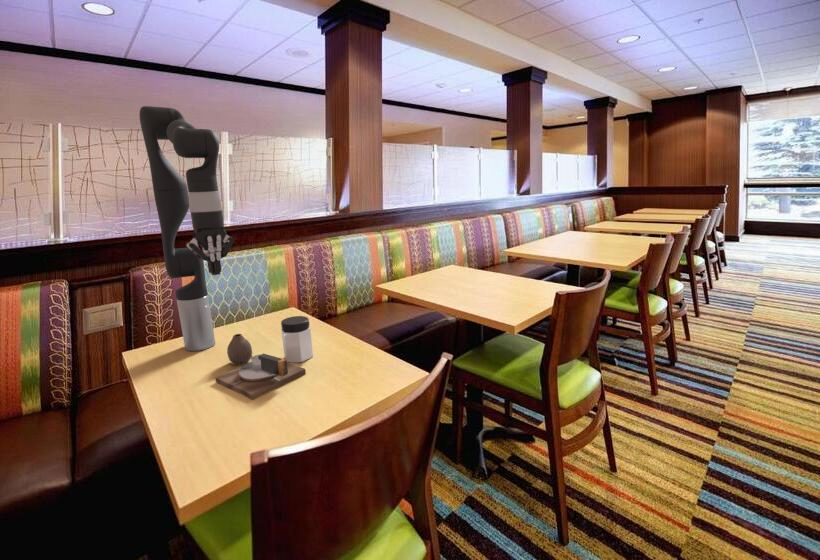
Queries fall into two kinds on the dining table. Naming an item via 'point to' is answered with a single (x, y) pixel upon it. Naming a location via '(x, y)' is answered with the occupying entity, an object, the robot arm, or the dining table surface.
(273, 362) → the knob
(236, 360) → the vase
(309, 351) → the jar
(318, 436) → the dining table surface
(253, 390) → the base
